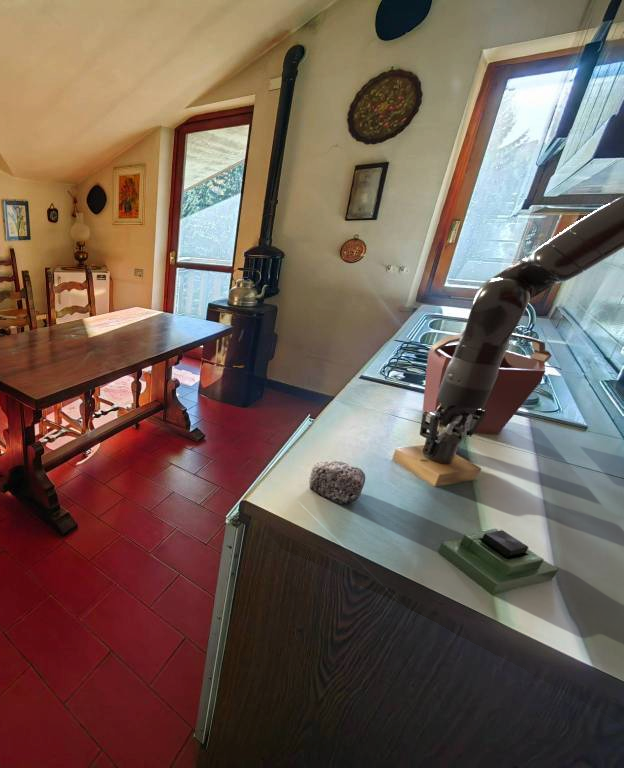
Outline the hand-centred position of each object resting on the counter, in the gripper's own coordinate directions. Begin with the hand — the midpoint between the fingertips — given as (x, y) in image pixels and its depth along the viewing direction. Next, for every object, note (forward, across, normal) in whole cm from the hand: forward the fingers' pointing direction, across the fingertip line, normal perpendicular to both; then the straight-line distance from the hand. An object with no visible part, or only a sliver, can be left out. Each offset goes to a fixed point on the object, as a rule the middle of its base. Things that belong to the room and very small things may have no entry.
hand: (438, 453), depth 83 cm
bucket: (+4, +31, +17) cm, 36 cm away
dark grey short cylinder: (+1, 0, 0) cm, 1 cm away
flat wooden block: (+4, 0, 0) cm, 4 cm away
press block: (+4, -16, -23) cm, 28 cm away
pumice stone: (+4, -27, -3) cm, 28 cm away
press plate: (+1, -16, -23) cm, 28 cm away
